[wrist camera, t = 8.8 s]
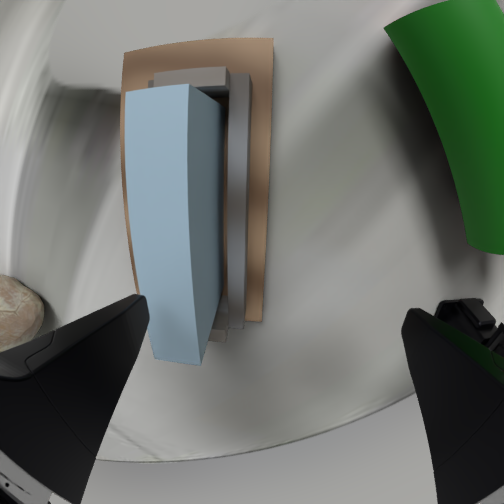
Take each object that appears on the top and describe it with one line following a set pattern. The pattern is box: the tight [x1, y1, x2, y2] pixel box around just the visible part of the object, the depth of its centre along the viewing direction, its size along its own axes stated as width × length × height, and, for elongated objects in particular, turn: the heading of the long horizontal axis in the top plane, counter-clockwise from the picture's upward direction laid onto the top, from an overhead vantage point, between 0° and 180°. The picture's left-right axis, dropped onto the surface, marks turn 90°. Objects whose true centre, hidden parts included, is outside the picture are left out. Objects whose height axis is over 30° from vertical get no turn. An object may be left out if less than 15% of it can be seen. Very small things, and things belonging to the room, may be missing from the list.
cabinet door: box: [125, 84, 225, 366], centre depth 14 cm, size 12×3×8 cm, turn 178°
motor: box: [384, 0, 504, 255], centre depth 12 cm, size 10×9×20 cm
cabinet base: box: [120, 38, 273, 342], centre depth 16 cm, size 20×10×6 cm, turn 178°
